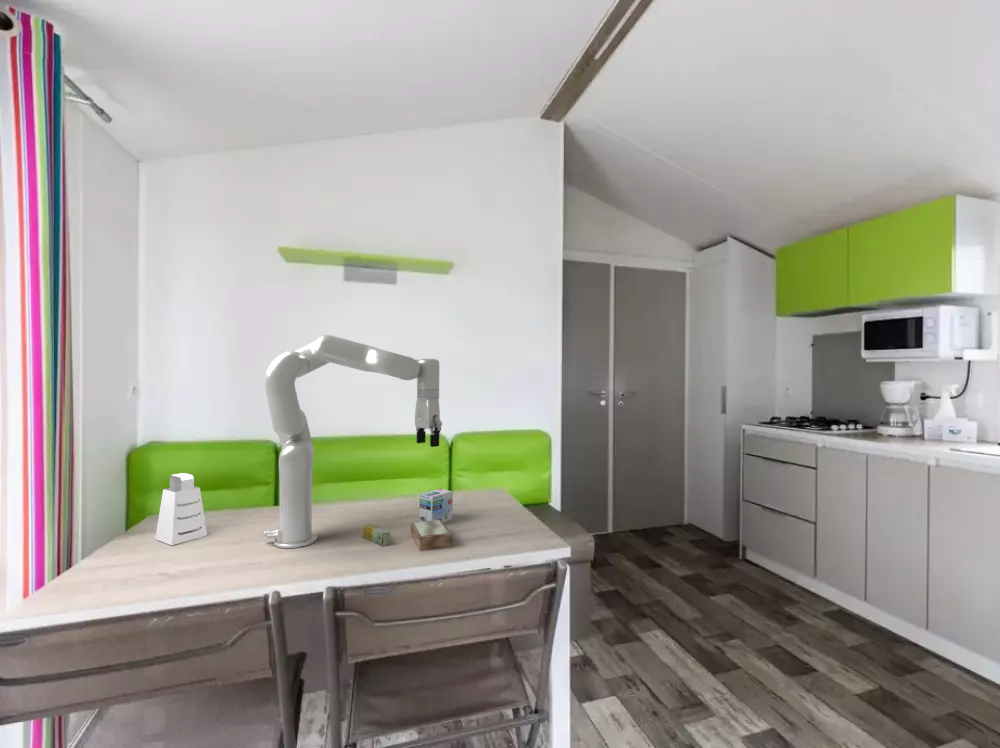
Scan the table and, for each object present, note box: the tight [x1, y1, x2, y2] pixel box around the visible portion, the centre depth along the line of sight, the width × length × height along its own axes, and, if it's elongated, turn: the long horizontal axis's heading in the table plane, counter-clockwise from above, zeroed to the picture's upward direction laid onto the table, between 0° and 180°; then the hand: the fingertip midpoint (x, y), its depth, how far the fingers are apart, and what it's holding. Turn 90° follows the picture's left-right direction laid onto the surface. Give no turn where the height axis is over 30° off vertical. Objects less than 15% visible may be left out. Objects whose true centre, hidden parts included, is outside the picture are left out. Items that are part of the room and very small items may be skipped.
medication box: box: [361, 523, 391, 547], centre depth 152 cm, size 12×3×4 cm, turn 47°
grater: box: [154, 472, 208, 546], centre depth 154 cm, size 10×10×20 cm
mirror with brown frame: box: [410, 520, 453, 552], centre depth 152 cm, size 10×15×4 cm, turn 21°
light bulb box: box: [419, 488, 454, 523], centre depth 171 cm, size 11×7×11 cm, turn 143°
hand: (427, 444), depth 164 cm, fingers open, 9 cm apart
